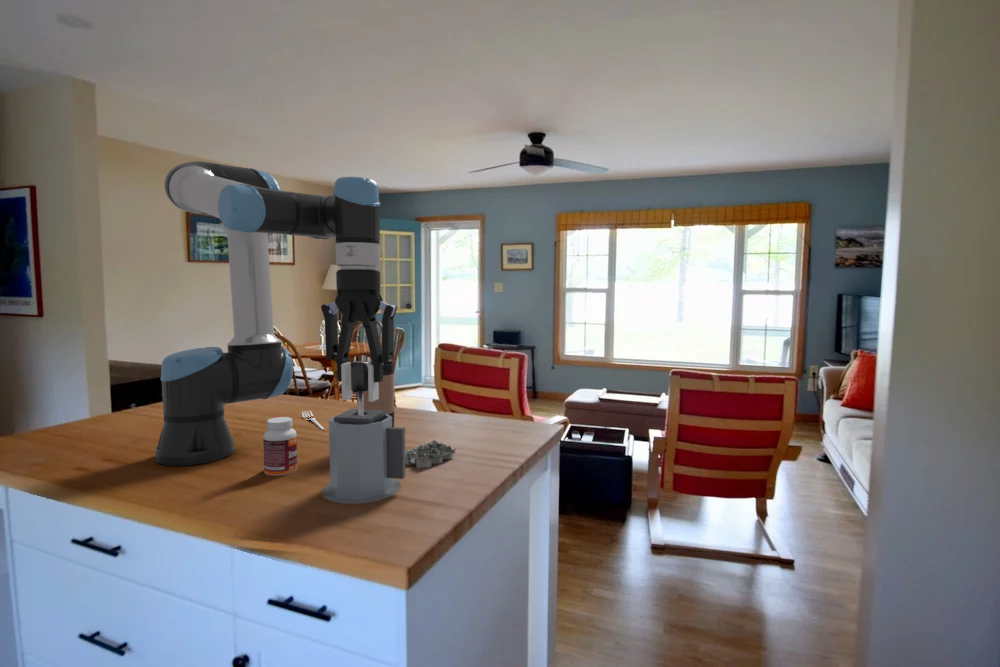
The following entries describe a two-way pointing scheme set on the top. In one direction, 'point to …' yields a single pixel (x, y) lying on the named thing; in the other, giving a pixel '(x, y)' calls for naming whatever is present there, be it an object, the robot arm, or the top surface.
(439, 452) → the egg carton
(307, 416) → the fork
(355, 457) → the carafe
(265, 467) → the pill bottle
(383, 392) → the travel mug
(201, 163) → the robot arm
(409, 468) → the top surface
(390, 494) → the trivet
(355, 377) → the plunger
